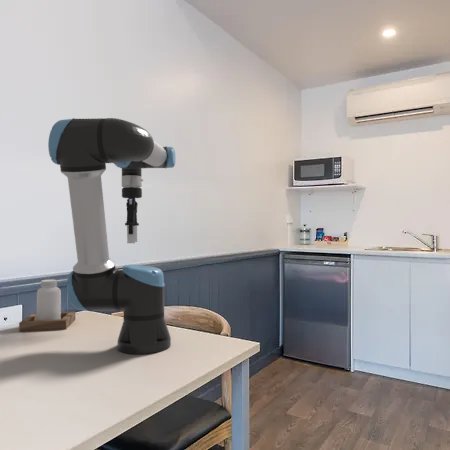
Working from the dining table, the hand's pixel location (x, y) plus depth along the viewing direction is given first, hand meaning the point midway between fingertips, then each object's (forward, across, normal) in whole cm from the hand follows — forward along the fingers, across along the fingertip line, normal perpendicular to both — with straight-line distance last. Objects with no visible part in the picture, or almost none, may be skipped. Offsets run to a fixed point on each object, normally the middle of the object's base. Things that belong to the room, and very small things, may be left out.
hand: (132, 242), depth 156 cm
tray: (+29, -7, +29) cm, 41 cm away
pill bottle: (+28, -7, +29) cm, 41 cm away
